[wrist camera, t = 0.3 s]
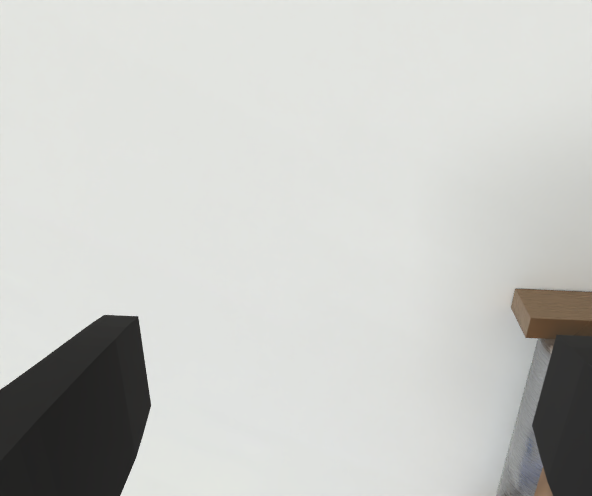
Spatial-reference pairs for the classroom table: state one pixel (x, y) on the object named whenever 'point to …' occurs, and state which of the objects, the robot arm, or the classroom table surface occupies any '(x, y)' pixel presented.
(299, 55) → the classroom table surface
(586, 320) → the roller track
